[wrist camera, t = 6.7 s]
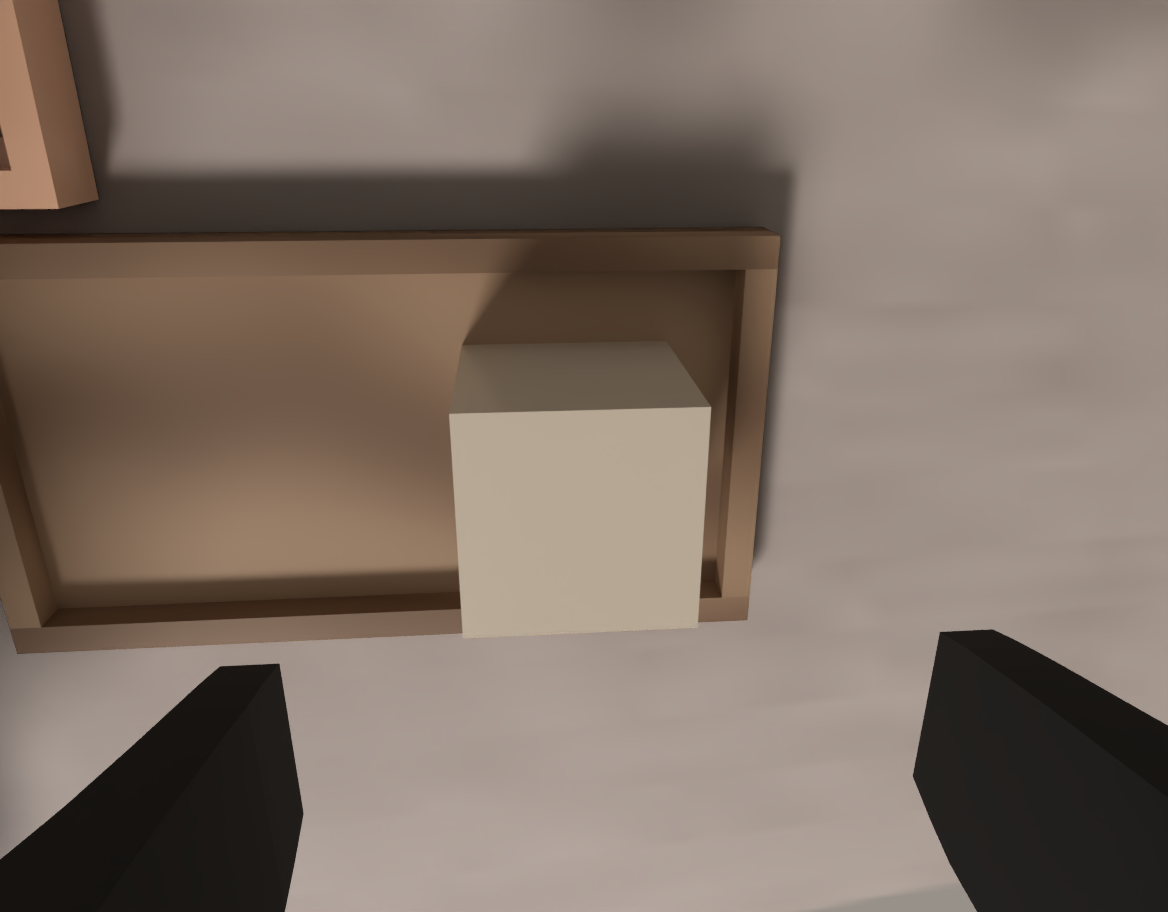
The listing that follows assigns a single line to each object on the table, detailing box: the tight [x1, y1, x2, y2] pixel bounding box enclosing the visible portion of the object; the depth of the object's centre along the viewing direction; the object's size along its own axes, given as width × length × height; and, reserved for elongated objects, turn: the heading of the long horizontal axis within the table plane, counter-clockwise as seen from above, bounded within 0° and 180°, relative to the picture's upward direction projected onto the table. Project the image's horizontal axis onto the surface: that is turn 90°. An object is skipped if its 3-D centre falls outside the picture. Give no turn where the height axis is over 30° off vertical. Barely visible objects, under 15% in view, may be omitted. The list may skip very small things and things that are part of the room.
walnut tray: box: [0, 227, 781, 654], centre depth 17 cm, size 8×15×1 cm, turn 90°
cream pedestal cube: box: [449, 341, 711, 638], centre depth 16 cm, size 4×4×4 cm
